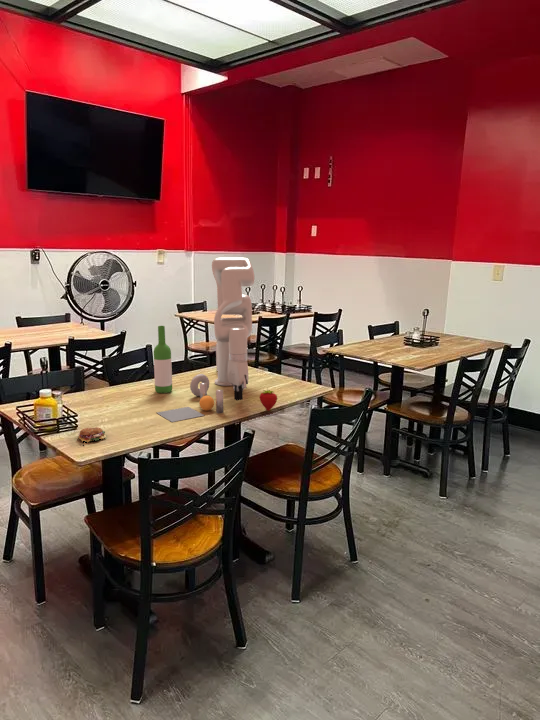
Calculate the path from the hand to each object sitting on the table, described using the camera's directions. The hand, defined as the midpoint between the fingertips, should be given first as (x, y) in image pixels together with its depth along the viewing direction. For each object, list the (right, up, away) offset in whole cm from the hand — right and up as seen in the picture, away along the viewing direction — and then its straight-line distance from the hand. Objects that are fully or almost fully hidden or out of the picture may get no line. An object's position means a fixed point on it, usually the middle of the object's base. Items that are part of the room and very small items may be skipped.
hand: (238, 399), depth 225 cm
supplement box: (-9, +10, +56) cm, 58 cm away
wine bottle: (-35, +2, +18) cm, 39 cm away
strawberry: (+13, -4, -10) cm, 17 cm away
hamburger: (-48, -11, -43) cm, 65 cm away
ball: (-12, -1, -10) cm, 16 cm away
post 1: (-14, -2, -2) cm, 15 cm away
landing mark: (-22, -5, -15) cm, 27 cm away
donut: (-18, +1, +11) cm, 21 cm away
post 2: (-7, -4, -12) cm, 15 cm away
